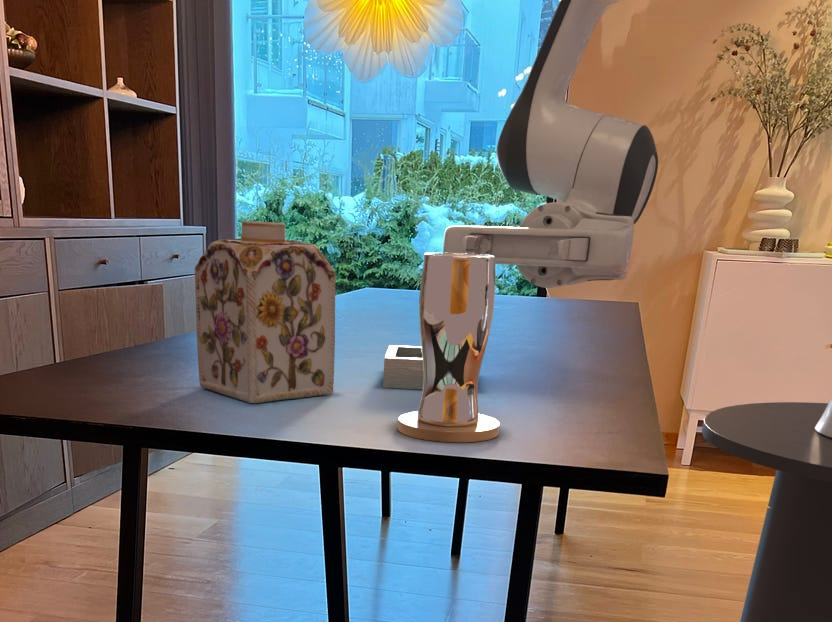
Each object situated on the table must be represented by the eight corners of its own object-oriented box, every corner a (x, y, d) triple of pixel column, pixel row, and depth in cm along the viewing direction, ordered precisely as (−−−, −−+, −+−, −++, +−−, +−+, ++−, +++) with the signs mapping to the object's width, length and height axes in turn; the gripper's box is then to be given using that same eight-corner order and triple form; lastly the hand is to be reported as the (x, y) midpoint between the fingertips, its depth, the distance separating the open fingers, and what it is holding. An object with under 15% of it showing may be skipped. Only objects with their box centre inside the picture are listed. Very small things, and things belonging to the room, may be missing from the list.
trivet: (495, 422, 93) (496, 412, 92) (501, 444, 84) (502, 434, 83) (399, 417, 93) (400, 408, 93) (395, 439, 84) (395, 429, 84)
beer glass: (463, 431, 84) (477, 257, 77) (399, 420, 87) (408, 253, 81) (494, 419, 89) (510, 255, 83) (433, 409, 93) (444, 251, 86)
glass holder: (474, 376, 118) (476, 348, 117) (477, 392, 108) (479, 362, 106) (387, 372, 119) (389, 345, 117) (383, 387, 109) (384, 357, 107)
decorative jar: (196, 387, 105) (189, 218, 97) (278, 379, 112) (277, 220, 104) (252, 405, 97) (248, 222, 89) (337, 395, 103) (340, 223, 96)
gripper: (472, 213, 105) (420, 211, 94) (649, 216, 96) (614, 215, 85) (468, 271, 108) (417, 276, 97) (639, 280, 99) (604, 286, 88)
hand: (510, 247), depth 91 cm, fingers open, 8 cm apart
